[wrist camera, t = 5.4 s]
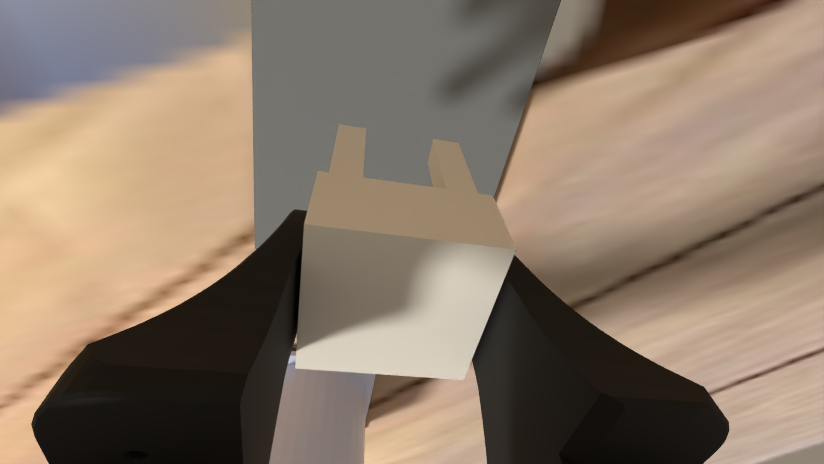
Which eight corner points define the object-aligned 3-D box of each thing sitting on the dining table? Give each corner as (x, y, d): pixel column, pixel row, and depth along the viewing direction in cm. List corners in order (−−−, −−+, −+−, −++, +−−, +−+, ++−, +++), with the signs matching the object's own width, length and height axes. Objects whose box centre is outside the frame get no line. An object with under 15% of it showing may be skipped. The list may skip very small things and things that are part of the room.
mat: (466, 265, 26) (468, 271, 25) (257, 241, 24) (254, 248, 23) (562, -22, 17) (567, -20, 17) (253, -93, 16) (249, -93, 15)
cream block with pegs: (467, 137, 15) (516, 249, 10) (437, 244, 17) (463, 379, 12) (331, 115, 14) (303, 224, 9) (321, 230, 17) (295, 368, 11)
